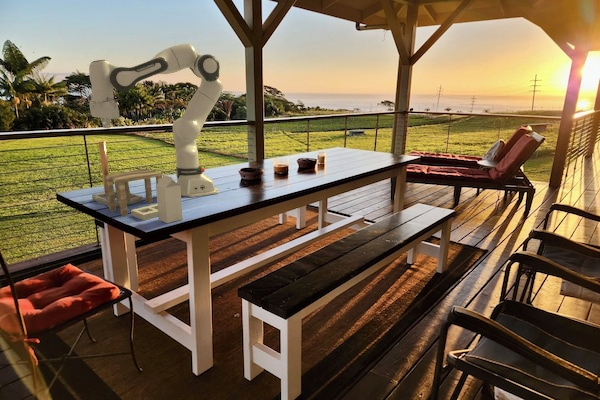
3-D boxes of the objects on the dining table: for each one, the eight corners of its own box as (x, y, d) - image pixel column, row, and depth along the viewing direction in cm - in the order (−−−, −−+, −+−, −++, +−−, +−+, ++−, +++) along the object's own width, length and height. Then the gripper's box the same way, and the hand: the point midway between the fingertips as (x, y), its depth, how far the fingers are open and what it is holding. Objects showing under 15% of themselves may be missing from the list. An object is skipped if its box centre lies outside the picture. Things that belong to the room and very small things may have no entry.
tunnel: (165, 206, 181) (162, 172, 177) (123, 216, 166) (119, 179, 161) (149, 201, 189) (146, 168, 184) (109, 210, 174) (104, 175, 169)
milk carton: (167, 223, 158) (163, 178, 153) (158, 219, 163) (154, 175, 158) (182, 219, 164) (179, 175, 158) (173, 216, 168) (170, 173, 163)
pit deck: (173, 212, 172) (173, 207, 172) (144, 220, 162) (143, 214, 161) (160, 208, 178) (160, 203, 178) (131, 215, 168) (131, 210, 167)
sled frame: (142, 201, 187) (136, 144, 180) (113, 207, 177) (106, 147, 169) (120, 194, 199) (114, 140, 192) (92, 199, 189) (85, 142, 181)
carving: (128, 200, 190) (125, 176, 187) (133, 203, 185) (131, 179, 181) (114, 202, 186) (111, 178, 182) (120, 206, 180) (117, 181, 177)
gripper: (121, 98, 173) (124, 129, 177) (99, 96, 185) (102, 126, 189) (107, 98, 168) (111, 130, 172) (85, 96, 180) (89, 126, 184)
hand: (106, 128), depth 180 cm, fingers closed
